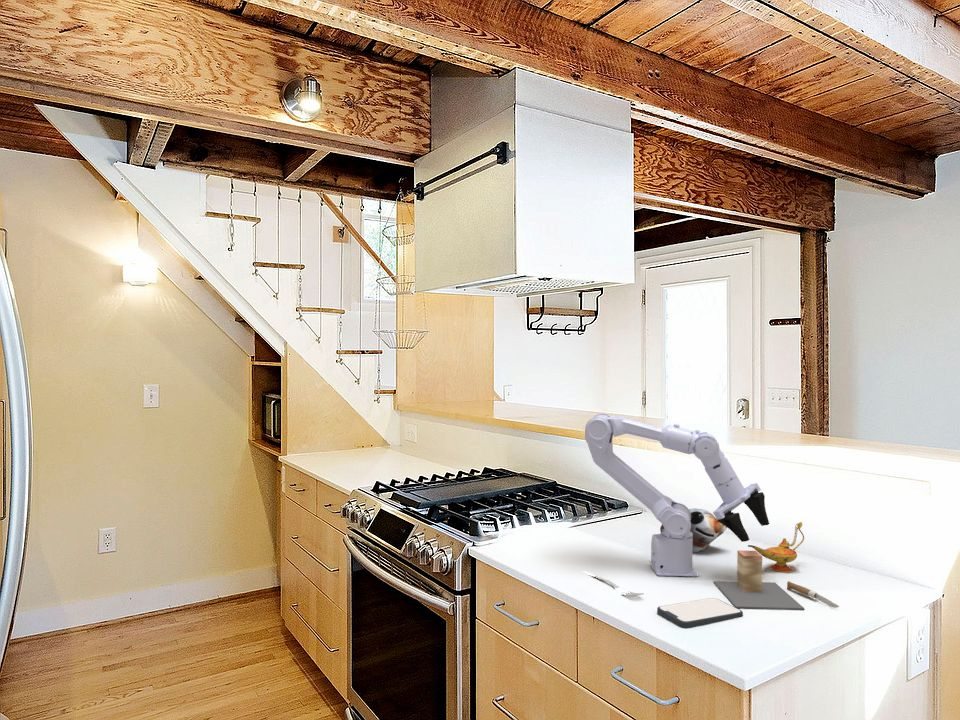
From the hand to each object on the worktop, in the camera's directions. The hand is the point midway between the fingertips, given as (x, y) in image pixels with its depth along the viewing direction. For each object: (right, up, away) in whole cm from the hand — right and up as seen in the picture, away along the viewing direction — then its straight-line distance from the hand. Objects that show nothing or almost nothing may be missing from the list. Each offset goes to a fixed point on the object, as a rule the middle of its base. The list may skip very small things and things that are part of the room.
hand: (755, 532), depth 156 cm
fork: (-36, -11, -2) cm, 38 cm away
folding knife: (+7, -12, -12) cm, 18 cm away
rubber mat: (-4, -11, -10) cm, 15 cm away
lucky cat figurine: (-7, -11, +25) cm, 28 cm away
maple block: (-4, -11, -7) cm, 14 cm away
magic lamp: (+8, -11, +8) cm, 16 cm away
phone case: (-20, -12, -20) cm, 31 cm away
